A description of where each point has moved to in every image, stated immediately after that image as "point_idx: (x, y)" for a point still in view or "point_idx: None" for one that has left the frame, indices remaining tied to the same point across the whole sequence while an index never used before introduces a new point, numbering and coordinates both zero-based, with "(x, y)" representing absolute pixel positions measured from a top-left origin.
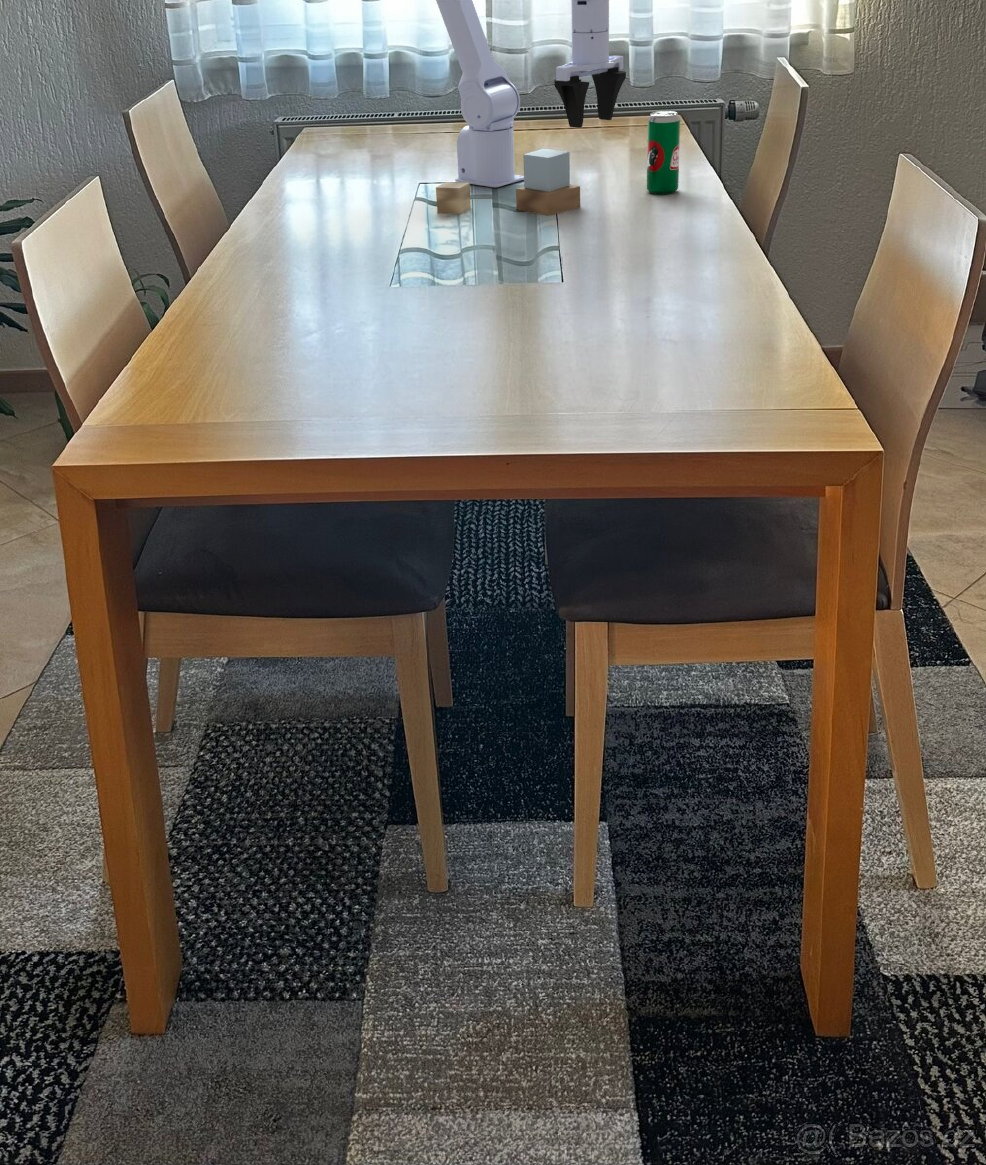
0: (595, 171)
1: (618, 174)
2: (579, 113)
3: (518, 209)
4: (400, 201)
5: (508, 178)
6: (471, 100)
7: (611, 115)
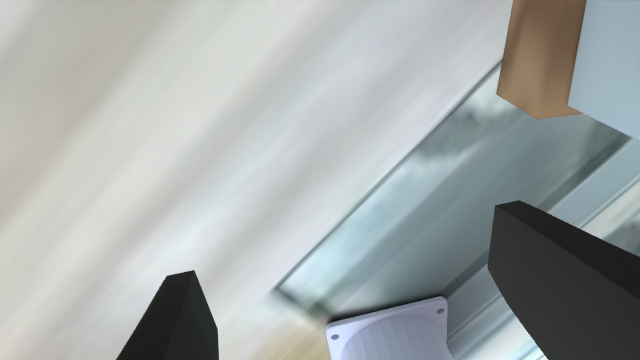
0: (103, 296)
1: (60, 224)
2: (612, 245)
3: None
4: None
5: (394, 321)
6: None
7: (173, 287)
